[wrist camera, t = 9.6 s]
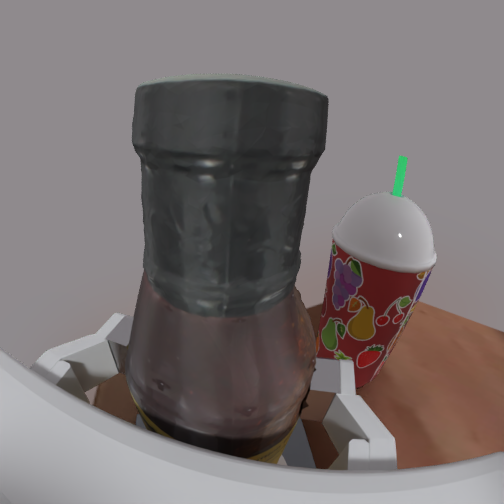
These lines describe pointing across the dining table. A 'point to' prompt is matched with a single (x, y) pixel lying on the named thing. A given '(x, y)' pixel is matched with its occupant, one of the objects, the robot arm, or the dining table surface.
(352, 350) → the smoothie
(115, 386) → the dining table surface
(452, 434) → the dining table surface
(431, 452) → the dining table surface
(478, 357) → the dining table surface
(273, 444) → the sauce bottle
